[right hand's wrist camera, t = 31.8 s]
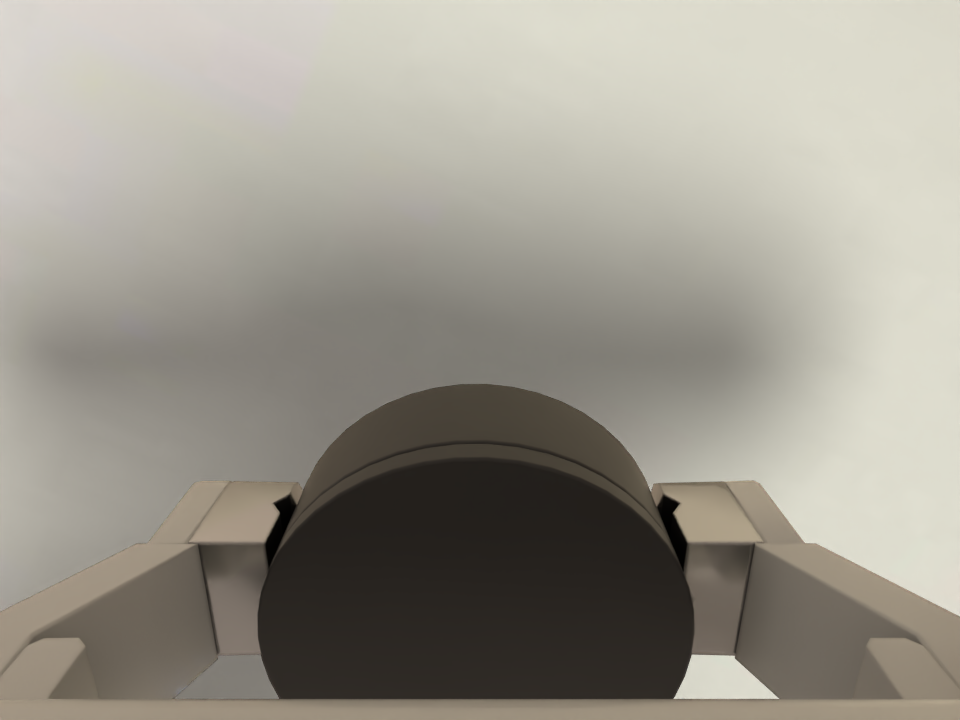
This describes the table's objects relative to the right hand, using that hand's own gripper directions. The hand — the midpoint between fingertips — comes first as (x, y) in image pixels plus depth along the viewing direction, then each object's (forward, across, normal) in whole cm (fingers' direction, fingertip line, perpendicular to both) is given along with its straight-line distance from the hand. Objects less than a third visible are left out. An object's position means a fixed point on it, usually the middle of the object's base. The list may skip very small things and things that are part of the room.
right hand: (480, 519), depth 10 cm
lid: (-2, 0, 0) cm, 2 cm away
